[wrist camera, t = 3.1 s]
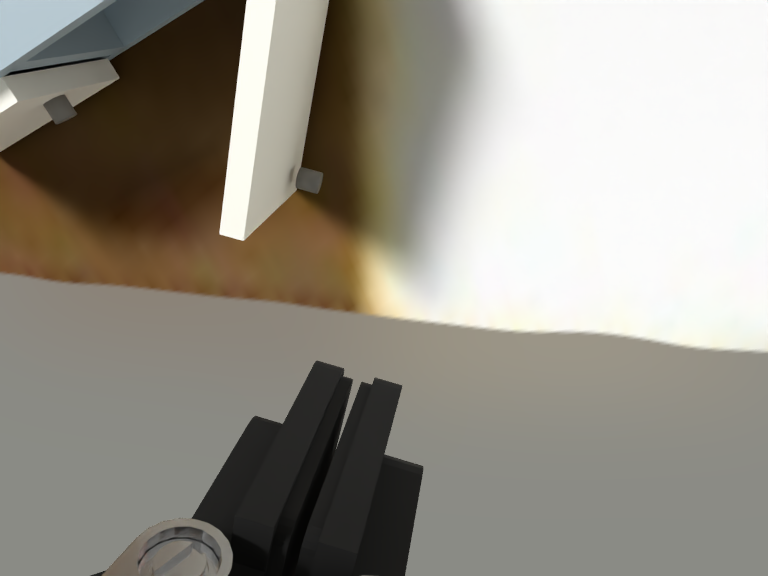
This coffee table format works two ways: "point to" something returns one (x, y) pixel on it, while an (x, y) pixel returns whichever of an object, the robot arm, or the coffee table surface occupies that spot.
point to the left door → (272, 111)
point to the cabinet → (66, 54)
